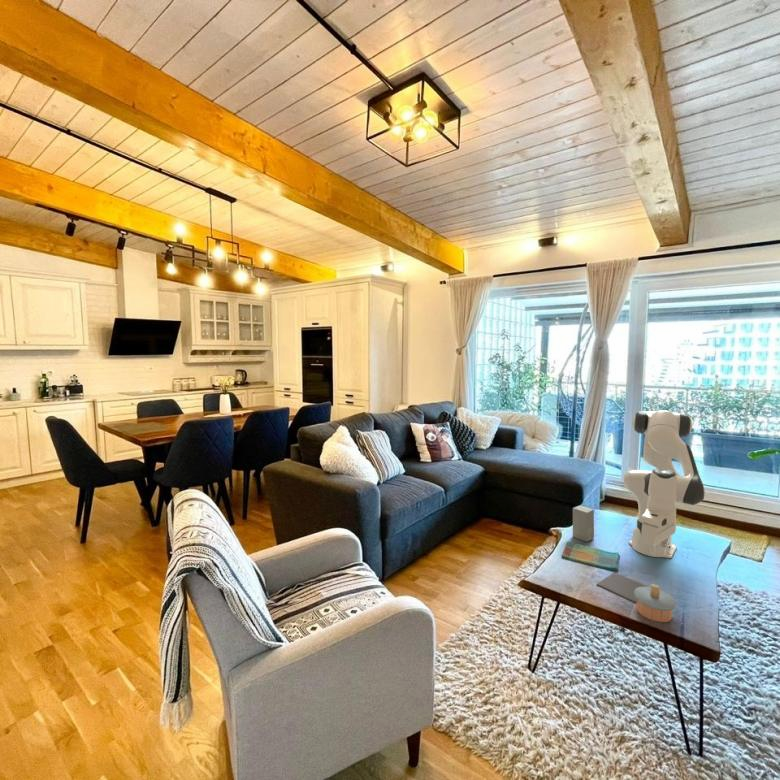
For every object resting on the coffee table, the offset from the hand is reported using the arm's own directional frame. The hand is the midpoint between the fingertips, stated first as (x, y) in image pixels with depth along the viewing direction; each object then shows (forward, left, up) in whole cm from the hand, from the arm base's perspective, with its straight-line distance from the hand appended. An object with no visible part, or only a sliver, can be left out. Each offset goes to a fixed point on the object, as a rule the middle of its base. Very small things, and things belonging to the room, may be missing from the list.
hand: (658, 550), depth 151 cm
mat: (-8, -14, -24) cm, 29 cm away
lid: (0, 0, -19) cm, 19 cm away
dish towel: (-21, -35, -25) cm, 48 cm away
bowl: (0, 0, -24) cm, 24 cm away
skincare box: (-37, -48, -24) cm, 65 cm away
